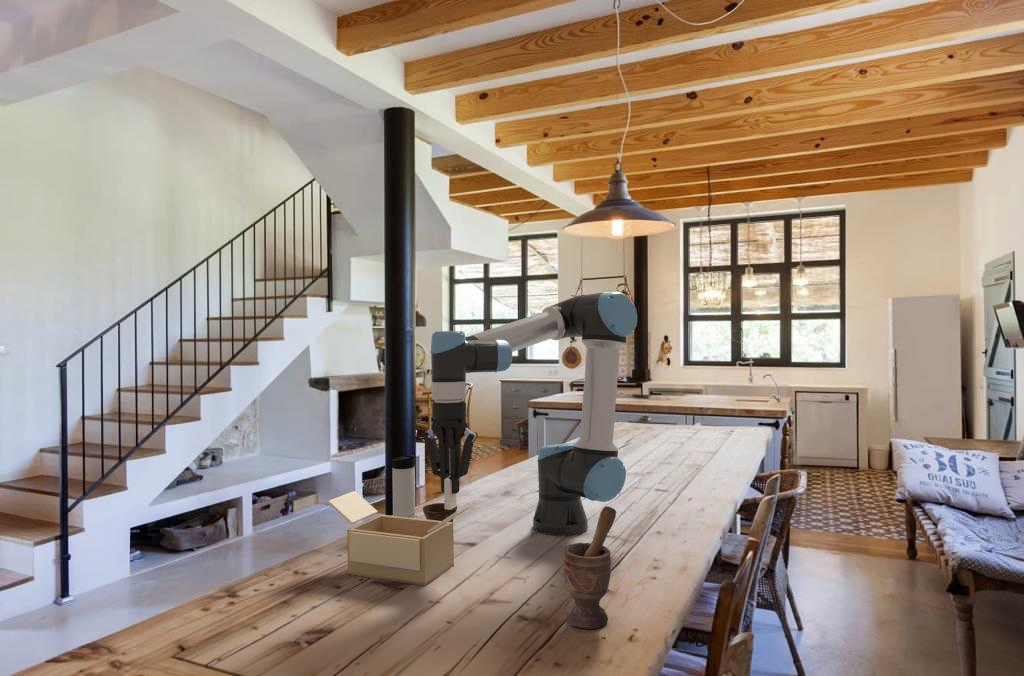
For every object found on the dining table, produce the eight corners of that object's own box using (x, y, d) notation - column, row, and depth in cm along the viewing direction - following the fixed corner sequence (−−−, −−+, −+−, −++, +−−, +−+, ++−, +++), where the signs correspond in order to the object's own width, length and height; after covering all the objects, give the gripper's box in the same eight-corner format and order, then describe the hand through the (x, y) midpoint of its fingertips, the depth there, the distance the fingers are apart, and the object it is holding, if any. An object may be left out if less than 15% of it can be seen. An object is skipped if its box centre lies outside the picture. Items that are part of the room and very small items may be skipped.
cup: (466, 535, 165) (462, 499, 164) (452, 550, 157) (447, 512, 156) (436, 533, 168) (431, 498, 167) (421, 549, 160) (416, 511, 159)
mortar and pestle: (582, 601, 124) (580, 500, 124) (624, 610, 119) (622, 505, 120) (557, 625, 114) (555, 515, 114) (601, 635, 109) (599, 521, 109)
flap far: (352, 522, 142) (328, 500, 144) (351, 524, 142) (327, 502, 145) (377, 511, 151) (354, 490, 154) (376, 513, 151) (354, 492, 154)
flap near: (448, 518, 144) (474, 501, 141) (450, 520, 144) (475, 503, 141) (426, 531, 134) (453, 513, 132) (427, 533, 134) (455, 515, 132)
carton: (455, 564, 146) (454, 521, 146) (423, 587, 132) (422, 540, 132) (382, 554, 153) (382, 513, 153) (345, 575, 140) (345, 530, 140)
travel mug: (412, 529, 174) (410, 457, 174) (389, 528, 175) (388, 457, 175) (419, 523, 180) (418, 453, 180) (398, 522, 181) (397, 453, 181)
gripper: (482, 399, 139) (484, 506, 139) (431, 398, 144) (432, 501, 144) (468, 403, 132) (469, 514, 132) (414, 401, 137) (416, 509, 137)
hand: (450, 507), depth 138 cm, fingers closed
